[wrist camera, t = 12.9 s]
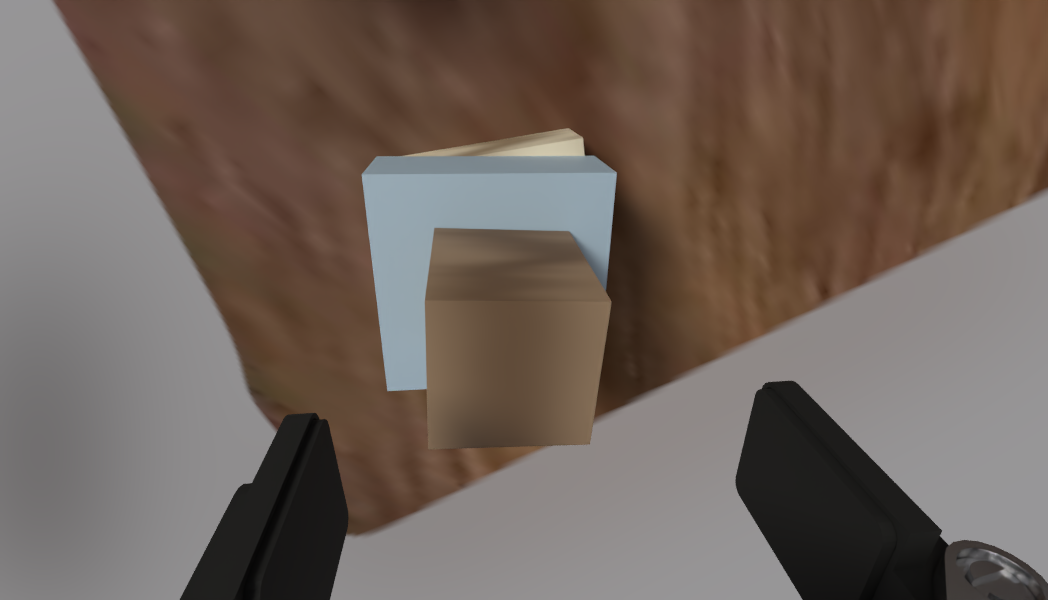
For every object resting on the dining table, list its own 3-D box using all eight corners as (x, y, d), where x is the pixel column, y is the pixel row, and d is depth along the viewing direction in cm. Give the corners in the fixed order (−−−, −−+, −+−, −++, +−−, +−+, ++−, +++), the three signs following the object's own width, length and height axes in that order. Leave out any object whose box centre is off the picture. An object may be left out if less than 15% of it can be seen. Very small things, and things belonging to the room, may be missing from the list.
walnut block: (569, 231, 19) (611, 301, 14) (556, 345, 21) (589, 444, 16) (434, 227, 19) (424, 300, 13) (436, 345, 21) (428, 449, 15)
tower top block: (594, 155, 22) (616, 172, 19) (580, 340, 26) (597, 380, 22) (376, 156, 21) (361, 174, 18) (396, 348, 25) (387, 390, 21)
